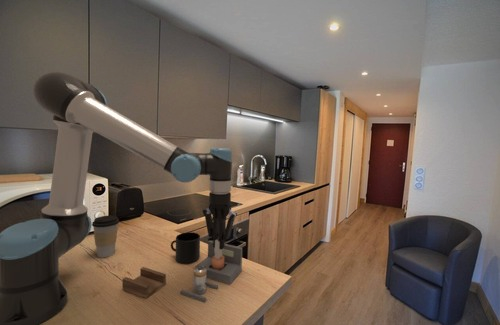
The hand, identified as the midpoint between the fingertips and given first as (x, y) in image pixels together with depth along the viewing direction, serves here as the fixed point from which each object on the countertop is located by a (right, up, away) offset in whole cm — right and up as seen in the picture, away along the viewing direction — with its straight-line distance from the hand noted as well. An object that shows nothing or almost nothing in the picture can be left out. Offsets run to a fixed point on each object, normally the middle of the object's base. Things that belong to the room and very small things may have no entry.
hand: (218, 256), depth 83 cm
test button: (0, -4, 0) cm, 4 cm away
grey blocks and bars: (-2, -7, -4) cm, 8 cm away
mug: (-15, -5, +11) cm, 20 cm away
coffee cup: (-48, -4, +12) cm, 49 cm away
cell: (-5, -7, -10) cm, 13 cm away
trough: (-23, -6, -9) cm, 25 cm away
